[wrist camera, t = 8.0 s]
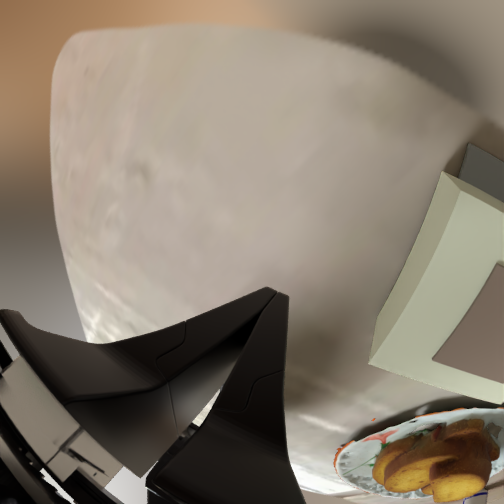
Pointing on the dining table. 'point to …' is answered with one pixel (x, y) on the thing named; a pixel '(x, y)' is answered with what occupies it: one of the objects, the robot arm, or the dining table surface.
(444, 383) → the sage block
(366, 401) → the dining table surface
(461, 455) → the food on plate
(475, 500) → the beverage can
